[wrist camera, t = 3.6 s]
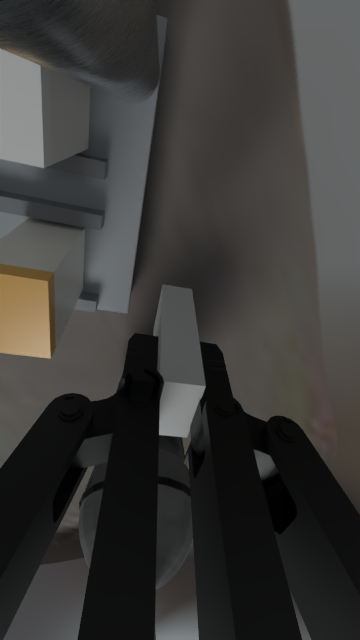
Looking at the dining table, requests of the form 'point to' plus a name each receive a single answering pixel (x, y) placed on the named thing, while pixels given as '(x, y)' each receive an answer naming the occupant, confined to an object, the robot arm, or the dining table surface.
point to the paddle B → (40, 113)
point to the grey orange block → (39, 285)
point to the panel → (94, 192)
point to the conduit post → (88, 41)
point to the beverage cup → (170, 509)
